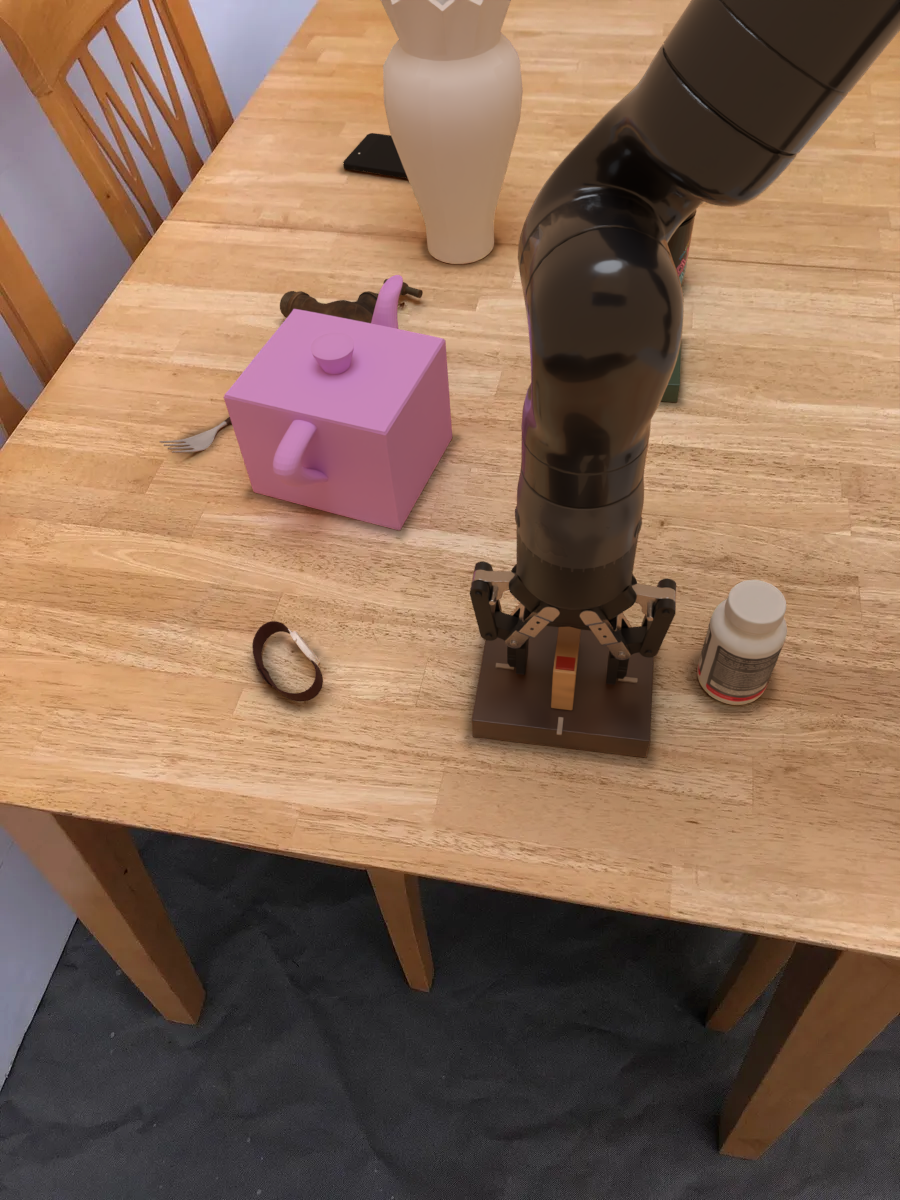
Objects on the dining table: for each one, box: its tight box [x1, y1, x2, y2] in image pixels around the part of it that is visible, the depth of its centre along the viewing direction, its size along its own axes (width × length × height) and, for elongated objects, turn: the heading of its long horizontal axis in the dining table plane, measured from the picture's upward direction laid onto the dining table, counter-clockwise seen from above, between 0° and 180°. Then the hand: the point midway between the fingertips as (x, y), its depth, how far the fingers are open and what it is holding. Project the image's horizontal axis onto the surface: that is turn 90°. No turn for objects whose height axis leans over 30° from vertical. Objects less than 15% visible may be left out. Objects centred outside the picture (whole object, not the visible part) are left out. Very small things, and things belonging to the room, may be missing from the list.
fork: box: [158, 416, 232, 454], centre depth 93 cm, size 3×16×2 cm, turn 135°
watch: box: [251, 620, 324, 703], centre depth 73 cm, size 8×5×4 cm, turn 35°
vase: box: [379, 0, 524, 265], centre depth 100 cm, size 15×15×29 cm
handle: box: [551, 627, 581, 710], centre depth 68 cm, size 6×2×5 cm, turn 170°
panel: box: [471, 625, 655, 758], centre depth 71 cm, size 13×11×3 cm
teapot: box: [223, 274, 453, 531], centre depth 84 cm, size 15×25×14 cm, turn 158°
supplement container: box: [667, 209, 697, 288], centre depth 100 cm, size 7×7×10 cm
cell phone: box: [342, 132, 408, 180], centre depth 123 cm, size 9×18×1 cm, turn 68°
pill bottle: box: [696, 579, 788, 706], centre depth 68 cm, size 5×5×10 cm
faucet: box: [279, 278, 424, 323], centre depth 100 cm, size 5×17×15 cm
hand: (566, 668), depth 70 cm, fingers open, 6 cm apart
